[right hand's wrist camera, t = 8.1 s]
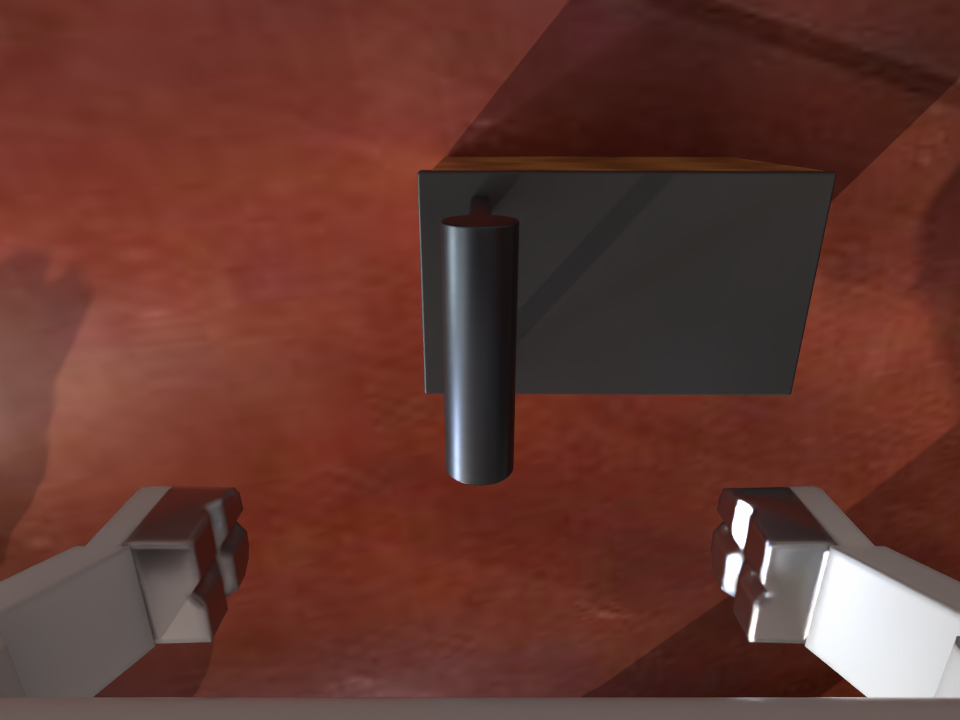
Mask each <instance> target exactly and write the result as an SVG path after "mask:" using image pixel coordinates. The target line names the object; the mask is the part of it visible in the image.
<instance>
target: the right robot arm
mask: <svg viewBox="0 0 960 720" xmlns="http://www.w3.org/2000/svg"><path fill="white" fill-rule="evenodd" d="M242 511H243V507H242V502H241V497H240V493H239V492H238V491H237V490H236V489H235V488H233V487H184V486H177V487H173V486H147V487H143V488H139V489H138V490H137V491H136V492H135V494H134V495H133V496H132V497H131V498H130V499H129V500H128V501H127V502H126V503H125V504H124V505H123V506H122V507H121V508H120V510H119V511H118V512H117V513H116V514H115V515H114V516H113V517H112V518H111V519H110V520H109V521H108V522H107V523H106V524H105V526H104V527H103V528H102V529H101V530H100V531H99V532H98V533H97V534H96V535H95V536H94V537H93V538H92V539H91V540H90V542H89V543H88V544H87V545H86V546H74V547H72V548H70V549H68V550H66V551H64V552H62V553H60V554H58V555H56V556H53V557H51V558H49V559H47V560H45V561H43V562H41V563H39V564H37V565H34V566H32V567H30V568H28V569H26V570H24V571H22V572H20V573H18V574H16V575H13V576H11V577H9V578H7V579H5V580H3V581H1V582H0V720H960V582H959V581H957V580H955V579H953V578H951V577H948V576H946V575H944V574H942V573H940V572H938V571H936V570H934V569H932V568H930V567H928V566H925V565H923V564H921V563H919V562H917V561H915V560H913V559H911V558H909V557H907V556H904V555H902V554H900V553H898V552H896V551H894V550H892V549H890V548H888V547H886V546H874V545H873V544H872V543H871V541H870V540H869V539H868V538H867V537H866V536H865V535H864V534H863V533H862V532H861V531H860V530H859V529H858V528H857V527H856V525H855V524H854V523H853V522H852V521H851V520H850V519H849V518H848V517H847V516H846V515H845V514H844V513H843V512H842V511H841V509H840V508H839V507H838V506H837V505H836V504H835V503H834V502H833V501H832V500H831V499H830V498H829V497H828V496H827V495H826V493H825V492H824V491H823V490H822V489H820V488H818V487H815V486H793V487H769V488H723V490H722V492H721V494H720V496H719V501H718V506H717V511H718V512H719V514H720V516H721V517H722V519H723V522H722V523H721V524H720V525H719V526H718V527H717V528H716V529H715V530H714V531H713V537H712V545H711V555H712V566H713V569H714V572H715V576H716V578H717V580H718V582H719V584H720V587H721V589H723V590H724V591H725V592H727V593H728V594H730V595H731V596H733V597H734V603H733V608H732V610H733V612H734V614H735V616H736V617H737V619H738V621H739V623H740V625H741V627H742V629H743V631H744V633H745V635H746V636H747V638H748V640H749V642H768V643H804V644H805V647H807V648H808V649H809V650H810V651H811V652H813V653H814V654H815V655H816V656H818V657H819V658H820V659H821V660H822V661H824V662H825V663H826V664H827V665H829V666H830V667H831V668H832V669H834V670H835V671H836V672H837V673H838V674H840V675H841V676H842V677H843V678H845V679H846V680H847V681H848V682H849V683H851V684H852V685H853V686H854V687H856V688H857V689H858V690H859V691H860V692H862V693H863V694H864V695H865V696H867V697H519V698H459V697H94V696H95V695H96V694H97V693H99V692H100V691H101V690H102V689H103V688H105V687H106V686H107V685H108V684H110V683H111V682H112V681H113V680H114V679H116V678H117V677H118V676H119V675H121V674H122V673H123V672H124V671H126V670H127V669H128V668H129V667H130V666H132V665H133V664H134V663H135V662H137V661H138V660H139V659H140V658H141V657H143V656H144V655H145V654H146V653H148V652H149V651H150V650H151V649H153V648H154V647H155V643H190V642H211V640H212V639H213V637H214V635H215V633H216V631H217V629H218V627H219V625H220V623H221V621H222V619H223V618H224V616H225V614H226V612H227V610H228V608H227V603H226V597H227V596H229V595H230V594H232V593H233V592H235V591H236V590H237V589H239V587H240V584H241V582H242V580H243V578H244V576H245V572H246V568H247V563H248V559H249V543H248V536H247V531H246V530H245V529H244V528H243V527H242V526H241V525H240V524H239V523H238V522H237V519H238V517H239V516H240V514H241V512H242Z"/></svg>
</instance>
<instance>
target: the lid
mask: <svg viewBox="0 0 960 720" xmlns="http://www.w3.org/2000/svg"><path fill="white" fill-rule="evenodd" d="M417 179H418V208H419V237H420V266H421V296H422V325H423V354H424V383H425V393H426V394H444V401H445V447H446V470H447V472H448V474H449V475H450V476H451V477H452V478H453V479H455V480H457V481H459V482H461V483H465V484H469V485H490V484H495V483H498V482H501V481H503V480H504V479H506V478H507V477H508V476H509V475H510V474H511V473H512V471H513V459H514V420H515V394H671V395H790V394H791V391H792V386H793V382H794V377H795V372H796V367H797V362H798V357H799V353H800V348H801V343H802V338H803V333H804V329H805V324H806V319H807V314H808V309H809V304H810V300H811V295H812V290H813V285H814V280H815V276H816V271H817V266H818V261H819V256H820V252H821V247H822V242H823V237H824V232H825V227H826V223H827V218H828V213H829V208H830V203H831V199H832V194H833V189H834V184H835V179H836V173H835V172H829V171H635V170H420V171H419V172H418V174H417Z"/></svg>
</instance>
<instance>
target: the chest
mask: <svg viewBox="0 0 960 720" xmlns="http://www.w3.org/2000/svg"><path fill="white" fill-rule="evenodd" d="M432 170H635V171H823V170H816V169H810V168H803V167H796V166H789V165H782V164H776V163H769V162H762V161H755V160H748V159H741V158H734V157H489V156H446V157H444V158H443V159H442V160H441V161H440V162H439V163H438V164H437V165H436V166H435V167H434V168H433V169H432Z"/></svg>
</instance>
